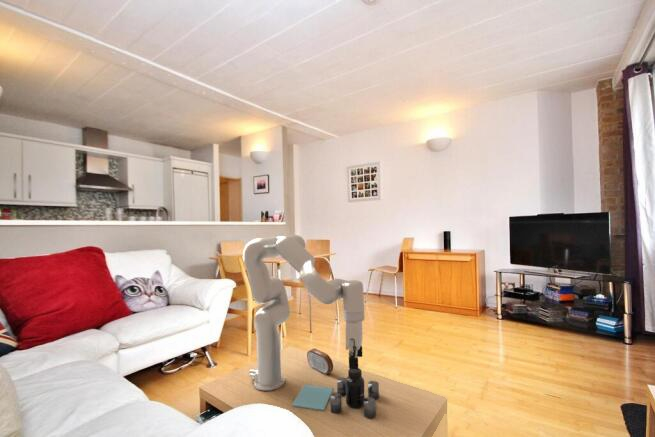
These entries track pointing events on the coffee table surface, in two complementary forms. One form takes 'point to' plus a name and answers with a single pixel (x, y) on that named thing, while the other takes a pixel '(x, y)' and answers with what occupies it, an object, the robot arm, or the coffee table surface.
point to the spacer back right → (373, 389)
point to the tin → (320, 361)
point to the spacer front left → (335, 403)
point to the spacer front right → (370, 408)
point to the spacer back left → (341, 386)
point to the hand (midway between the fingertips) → (356, 362)
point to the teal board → (313, 397)
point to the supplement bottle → (355, 388)
